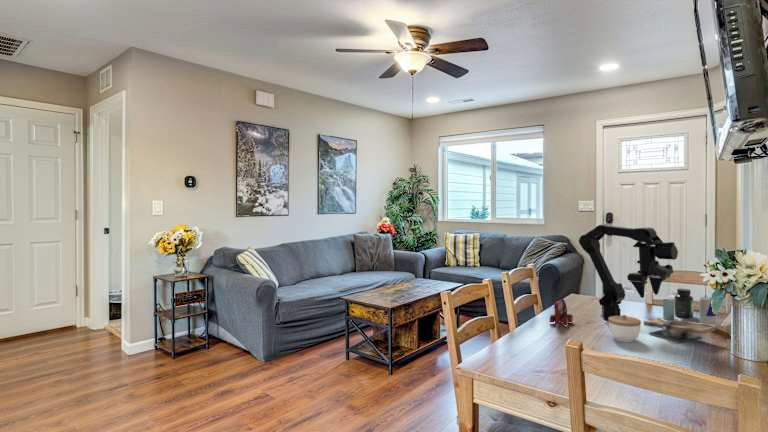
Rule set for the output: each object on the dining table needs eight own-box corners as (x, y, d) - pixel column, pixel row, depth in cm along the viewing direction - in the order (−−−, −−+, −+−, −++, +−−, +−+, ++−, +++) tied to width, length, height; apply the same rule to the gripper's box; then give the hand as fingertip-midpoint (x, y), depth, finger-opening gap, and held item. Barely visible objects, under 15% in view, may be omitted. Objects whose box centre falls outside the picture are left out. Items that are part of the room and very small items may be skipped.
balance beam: (644, 325, 170) (643, 320, 170) (658, 322, 174) (658, 317, 174) (700, 334, 151) (700, 329, 151) (715, 330, 155) (715, 325, 155)
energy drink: (719, 330, 169) (719, 300, 169) (703, 329, 170) (703, 299, 170) (711, 326, 174) (711, 297, 174) (696, 325, 175) (696, 296, 175)
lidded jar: (643, 345, 155) (643, 319, 154) (610, 342, 158) (610, 317, 158) (637, 336, 165) (637, 312, 164) (606, 334, 168) (606, 310, 168)
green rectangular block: (658, 322, 166) (658, 300, 166) (669, 319, 169) (668, 298, 168) (668, 324, 163) (668, 302, 163) (678, 322, 165) (678, 300, 165)
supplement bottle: (697, 318, 186) (697, 291, 185) (681, 318, 186) (681, 291, 185) (686, 314, 192) (686, 287, 192) (671, 314, 193) (670, 288, 192)
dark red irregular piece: (574, 321, 186) (574, 298, 186) (564, 328, 177) (564, 304, 176) (558, 319, 191) (557, 296, 190) (548, 326, 181) (547, 301, 181)
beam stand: (649, 334, 166) (649, 321, 166) (672, 329, 172) (672, 316, 171) (678, 343, 156) (678, 328, 156) (702, 337, 162) (702, 323, 161)
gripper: (653, 261, 164) (655, 302, 164) (681, 257, 172) (683, 295, 172) (625, 259, 174) (627, 298, 174) (653, 255, 182) (655, 292, 182)
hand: (649, 296), depth 175 cm, fingers open, 9 cm apart
